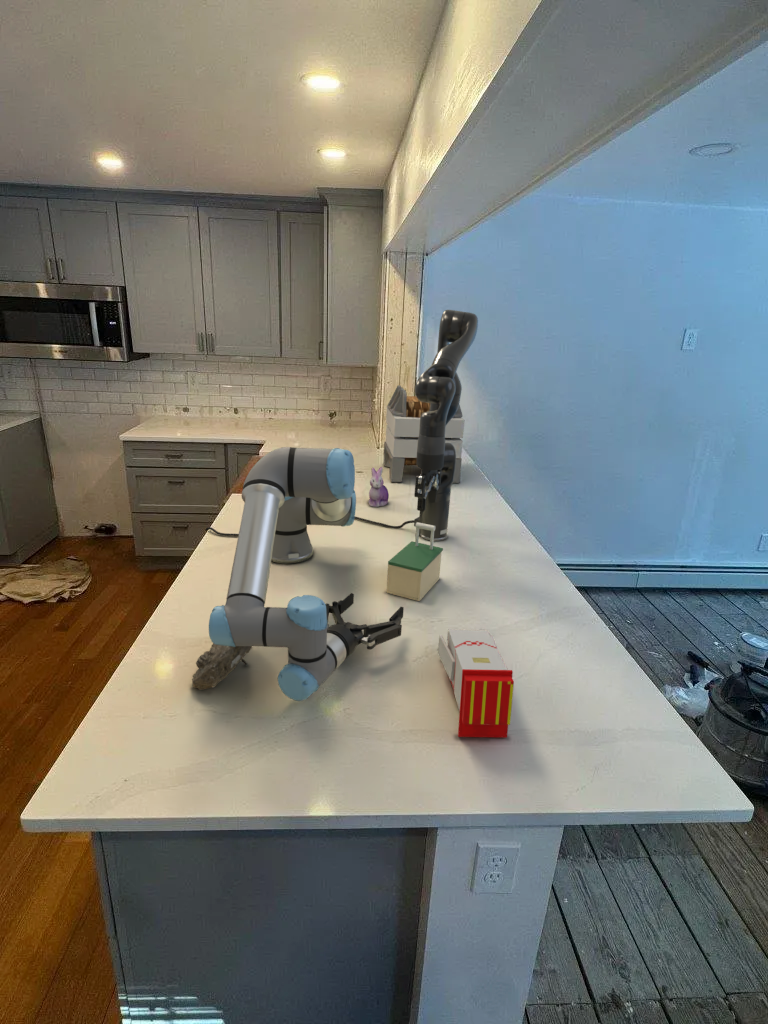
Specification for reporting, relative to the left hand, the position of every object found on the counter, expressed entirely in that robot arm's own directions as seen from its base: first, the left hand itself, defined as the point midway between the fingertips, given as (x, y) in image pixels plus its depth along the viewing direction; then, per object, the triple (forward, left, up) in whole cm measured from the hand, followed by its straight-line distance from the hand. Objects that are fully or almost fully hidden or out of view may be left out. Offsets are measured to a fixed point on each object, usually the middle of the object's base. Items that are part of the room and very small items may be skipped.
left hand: (376, 604), depth 139 cm
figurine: (-41, +84, -6) cm, 94 cm away
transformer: (-43, +136, -6) cm, 143 cm away
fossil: (-21, -30, -6) cm, 37 cm away
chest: (0, +25, -6) cm, 26 cm away
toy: (+29, -14, -6) cm, 32 cm away
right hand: (0, +31, +16) cm, 35 cm away
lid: (0, +26, +3) cm, 26 cm away
